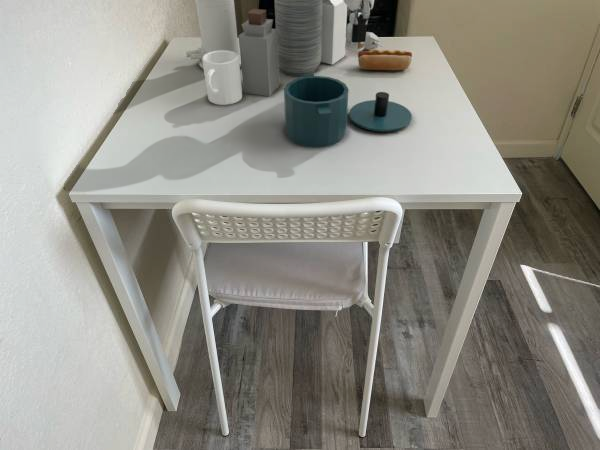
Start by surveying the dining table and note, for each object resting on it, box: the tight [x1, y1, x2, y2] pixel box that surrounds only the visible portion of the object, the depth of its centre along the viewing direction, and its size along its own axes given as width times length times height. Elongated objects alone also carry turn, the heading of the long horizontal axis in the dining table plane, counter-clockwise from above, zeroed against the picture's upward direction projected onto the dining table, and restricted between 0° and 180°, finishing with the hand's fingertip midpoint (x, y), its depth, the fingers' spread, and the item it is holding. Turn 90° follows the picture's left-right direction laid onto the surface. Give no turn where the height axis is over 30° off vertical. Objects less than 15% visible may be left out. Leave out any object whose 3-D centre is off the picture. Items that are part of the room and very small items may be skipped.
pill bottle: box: [345, 12, 365, 53], centre depth 106 cm, size 4×4×8 cm
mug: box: [202, 50, 243, 106], centre depth 105 cm, size 8×12×10 cm
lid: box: [348, 91, 413, 132], centre depth 99 cm, size 14×14×6 cm
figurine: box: [363, 31, 383, 51], centre depth 130 cm, size 4×8×5 cm, turn 67°
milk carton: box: [320, 0, 348, 65], centre depth 121 cm, size 7×7×19 cm
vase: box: [274, 0, 323, 77], centre depth 114 cm, size 12×12×23 cm
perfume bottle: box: [238, 8, 281, 97], centre depth 107 cm, size 7×7×18 cm
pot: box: [283, 73, 350, 148], centre depth 94 cm, size 13×18×10 cm
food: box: [357, 49, 413, 71], centre depth 120 cm, size 14×6×5 cm, turn 87°
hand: (355, 36), depth 107 cm, fingers closed on pill bottle, 4 cm apart
